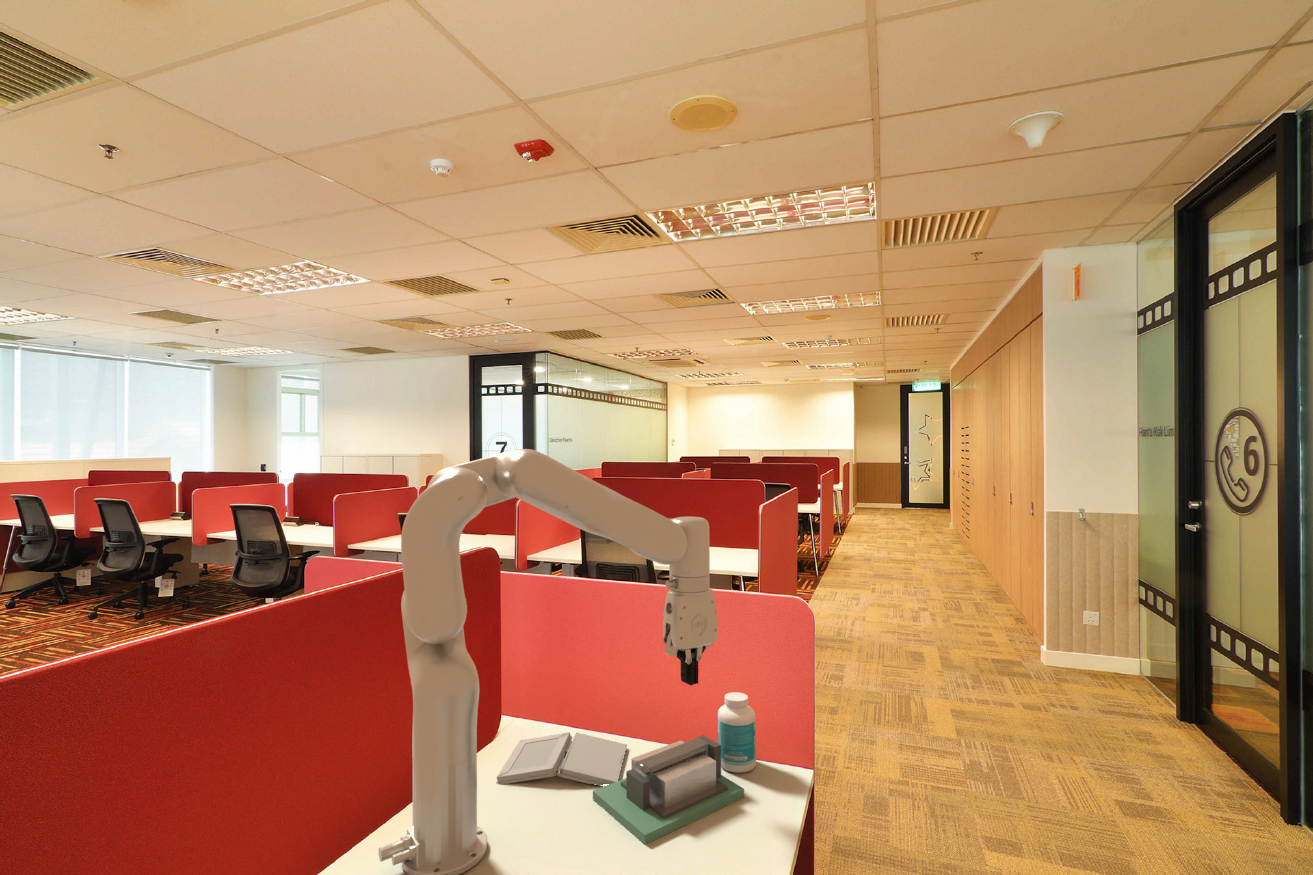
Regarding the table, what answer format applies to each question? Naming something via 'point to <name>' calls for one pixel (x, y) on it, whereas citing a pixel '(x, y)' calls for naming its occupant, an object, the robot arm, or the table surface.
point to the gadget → (582, 761)
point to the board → (653, 821)
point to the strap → (672, 755)
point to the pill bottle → (737, 734)
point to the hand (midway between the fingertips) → (689, 682)
